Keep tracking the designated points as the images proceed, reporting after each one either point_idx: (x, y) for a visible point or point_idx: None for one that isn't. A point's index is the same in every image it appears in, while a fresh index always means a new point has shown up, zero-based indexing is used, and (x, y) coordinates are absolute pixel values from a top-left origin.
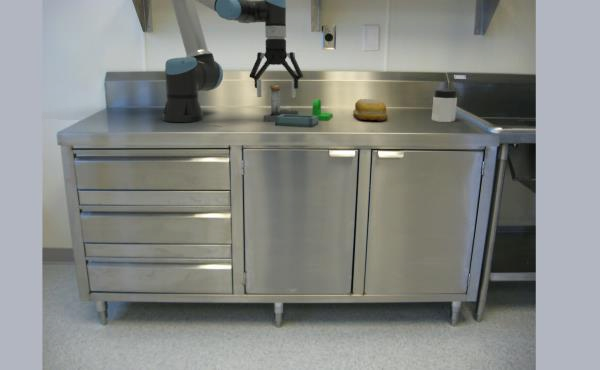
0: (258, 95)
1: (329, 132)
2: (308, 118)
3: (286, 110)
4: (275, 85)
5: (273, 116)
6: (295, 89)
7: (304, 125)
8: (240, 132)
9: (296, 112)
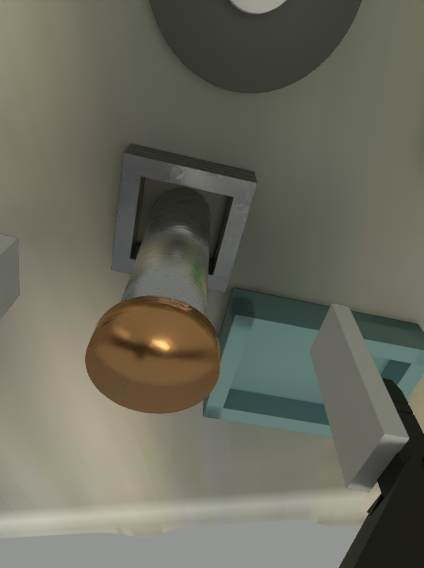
0: (7, 303)
1: None
2: None
3: (253, 15)
4: (141, 320)
5: None
6: (367, 359)
7: None
8: (114, 512)
9: (345, 31)
